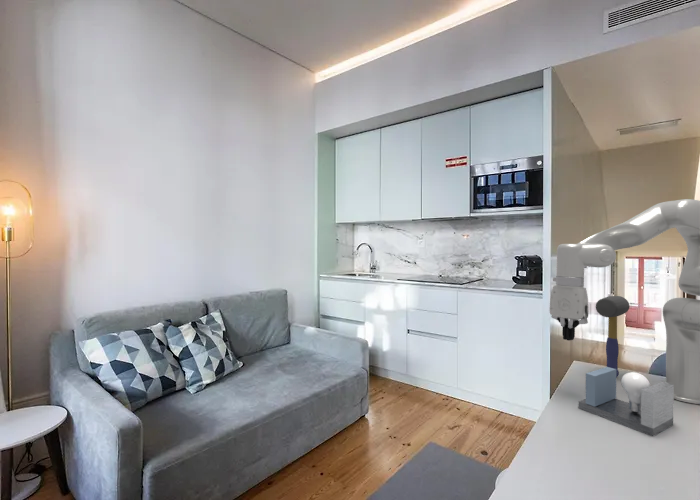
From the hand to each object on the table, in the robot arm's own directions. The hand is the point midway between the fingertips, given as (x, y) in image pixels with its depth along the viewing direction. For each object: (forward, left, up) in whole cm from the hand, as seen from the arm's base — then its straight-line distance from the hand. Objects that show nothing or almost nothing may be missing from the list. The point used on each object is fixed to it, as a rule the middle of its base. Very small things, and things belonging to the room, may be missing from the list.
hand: (568, 339), depth 114 cm
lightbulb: (-1, +18, -17) cm, 24 cm away
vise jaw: (0, +9, -16) cm, 19 cm away
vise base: (0, +15, -18) cm, 24 cm away
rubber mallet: (-31, -2, -19) cm, 37 cm away
